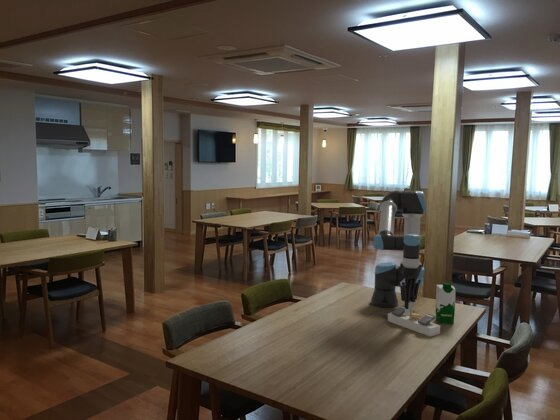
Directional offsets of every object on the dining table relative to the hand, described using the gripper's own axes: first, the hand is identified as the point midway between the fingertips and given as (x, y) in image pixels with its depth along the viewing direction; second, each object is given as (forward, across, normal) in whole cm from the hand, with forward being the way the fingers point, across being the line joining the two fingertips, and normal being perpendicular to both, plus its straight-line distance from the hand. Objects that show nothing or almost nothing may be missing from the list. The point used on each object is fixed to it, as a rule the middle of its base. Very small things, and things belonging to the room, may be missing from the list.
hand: (408, 314), depth 225 cm
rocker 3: (+1, -4, +8) cm, 9 cm away
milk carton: (+6, -24, +3) cm, 25 cm away
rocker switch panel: (+7, -4, -4) cm, 9 cm away
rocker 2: (+1, -4, 0) cm, 4 cm away
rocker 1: (+1, -4, -8) cm, 9 cm away
